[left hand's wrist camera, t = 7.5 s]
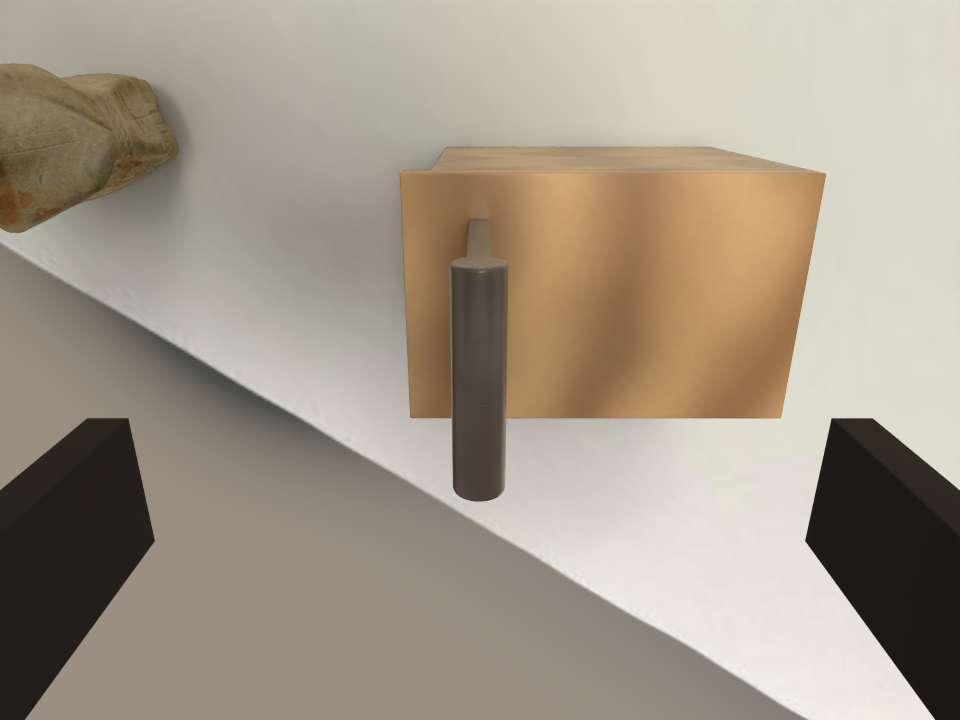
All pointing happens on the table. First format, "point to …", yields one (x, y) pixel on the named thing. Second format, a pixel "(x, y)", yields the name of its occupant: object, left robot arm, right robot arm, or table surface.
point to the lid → (599, 297)
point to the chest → (600, 159)
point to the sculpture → (73, 140)
